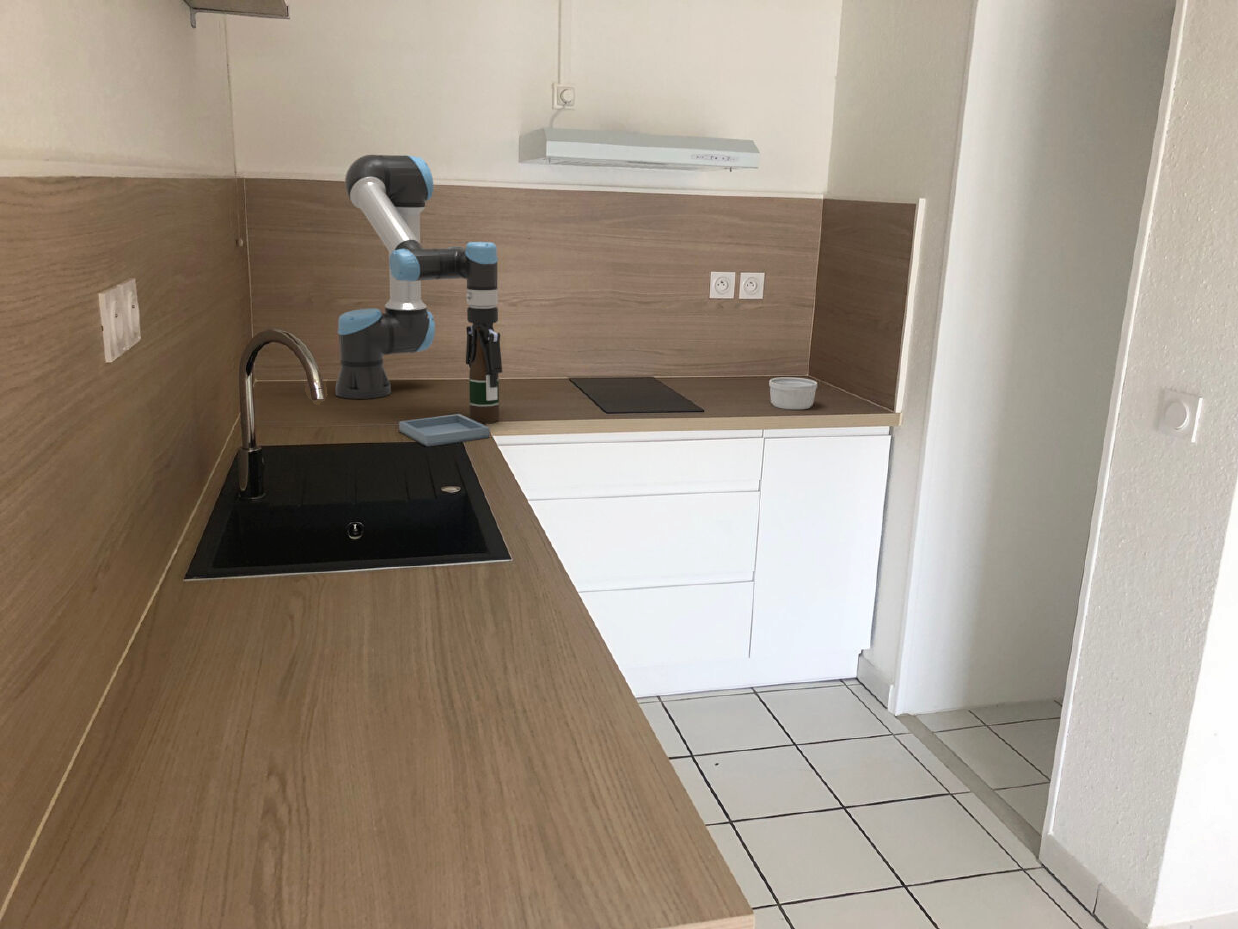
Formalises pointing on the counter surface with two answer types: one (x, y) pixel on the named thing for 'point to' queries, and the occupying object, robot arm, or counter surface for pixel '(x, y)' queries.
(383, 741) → the counter surface
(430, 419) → the dish
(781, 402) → the ramekin
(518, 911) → the counter surface
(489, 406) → the beer bottle
